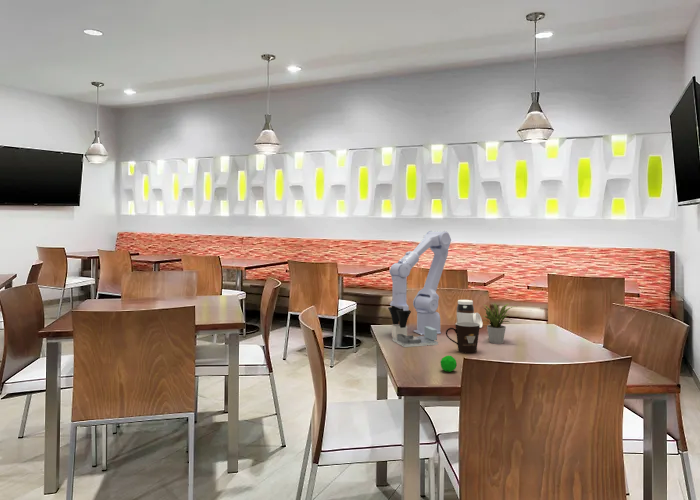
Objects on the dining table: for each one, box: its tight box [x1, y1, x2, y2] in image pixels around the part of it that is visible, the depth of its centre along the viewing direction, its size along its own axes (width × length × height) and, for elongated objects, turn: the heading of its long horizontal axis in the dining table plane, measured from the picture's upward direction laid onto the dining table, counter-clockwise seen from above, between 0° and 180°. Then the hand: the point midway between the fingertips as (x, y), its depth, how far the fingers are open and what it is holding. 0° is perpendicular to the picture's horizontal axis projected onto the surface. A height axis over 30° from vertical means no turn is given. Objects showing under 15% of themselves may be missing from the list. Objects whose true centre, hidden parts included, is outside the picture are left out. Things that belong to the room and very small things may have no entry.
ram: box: [423, 326, 438, 341], centre depth 204 cm, size 2×7×4 cm, turn 17°
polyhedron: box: [440, 355, 457, 373], centre depth 162 cm, size 5×5×5 cm
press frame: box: [392, 334, 439, 348], centre depth 202 cm, size 14×12×3 cm
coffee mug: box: [445, 322, 481, 355], centre depth 188 cm, size 12×9×10 cm
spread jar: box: [456, 299, 483, 329], centre depth 234 cm, size 12×11×12 cm
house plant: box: [482, 302, 518, 345], centre depth 202 cm, size 14×14×16 cm
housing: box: [391, 323, 408, 338], centre depth 212 cm, size 5×4×5 cm
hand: (399, 325), depth 212 cm, fingers open, 7 cm apart
